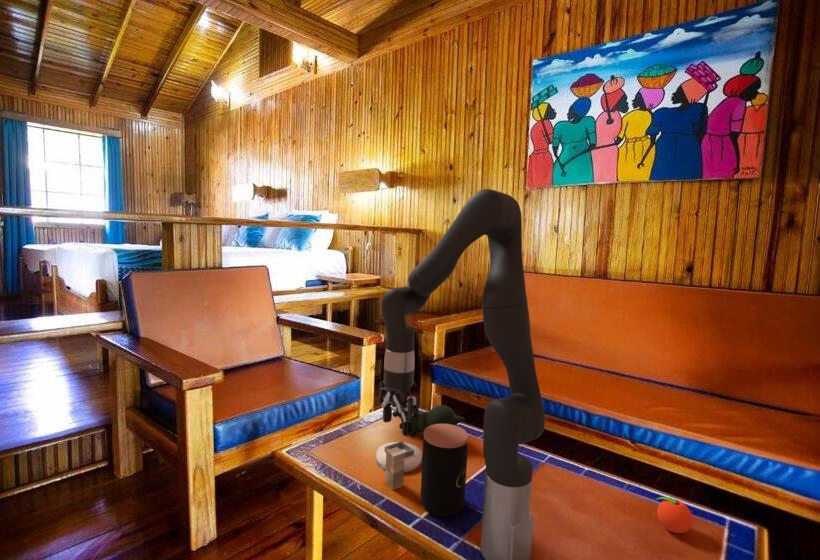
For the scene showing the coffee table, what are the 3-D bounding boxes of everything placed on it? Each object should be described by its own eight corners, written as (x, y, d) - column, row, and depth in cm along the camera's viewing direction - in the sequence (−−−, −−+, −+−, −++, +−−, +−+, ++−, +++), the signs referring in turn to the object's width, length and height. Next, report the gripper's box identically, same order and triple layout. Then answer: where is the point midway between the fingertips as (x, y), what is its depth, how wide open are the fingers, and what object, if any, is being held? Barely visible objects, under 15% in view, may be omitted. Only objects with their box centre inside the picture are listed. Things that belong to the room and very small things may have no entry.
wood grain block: (403, 485, 112) (404, 452, 111) (392, 490, 110) (393, 456, 109) (395, 479, 114) (396, 446, 113) (384, 483, 112) (386, 450, 111)
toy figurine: (388, 437, 141) (460, 452, 128) (385, 379, 139) (458, 389, 127) (402, 426, 149) (471, 439, 137) (400, 372, 147) (469, 380, 135)
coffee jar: (462, 522, 99) (466, 447, 96) (416, 514, 101) (419, 440, 98) (465, 494, 109) (470, 426, 107) (424, 487, 111) (427, 421, 109)
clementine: (646, 526, 100) (649, 497, 99) (655, 513, 105) (659, 485, 104) (686, 545, 94) (690, 514, 93) (694, 530, 99) (698, 501, 98)
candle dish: (430, 463, 123) (431, 451, 122) (393, 477, 115) (393, 465, 114) (403, 444, 133) (404, 433, 133) (367, 456, 125) (367, 444, 125)
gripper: (428, 372, 105) (425, 435, 107) (395, 356, 116) (392, 414, 118) (403, 377, 100) (401, 443, 102) (371, 360, 112) (369, 420, 114)
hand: (396, 427), depth 110 cm, fingers open, 8 cm apart
